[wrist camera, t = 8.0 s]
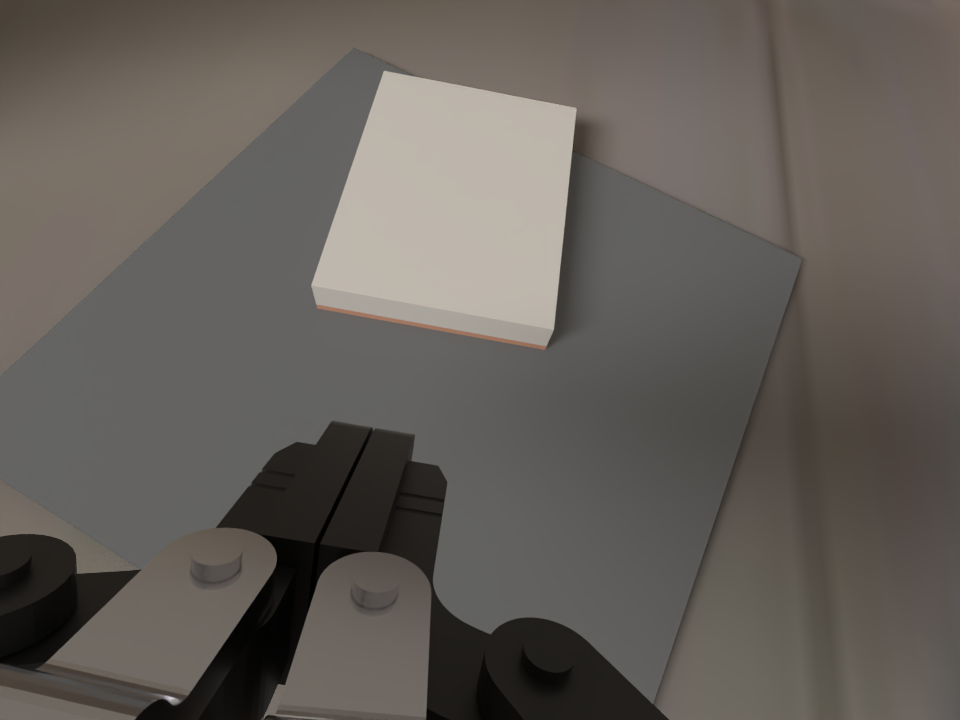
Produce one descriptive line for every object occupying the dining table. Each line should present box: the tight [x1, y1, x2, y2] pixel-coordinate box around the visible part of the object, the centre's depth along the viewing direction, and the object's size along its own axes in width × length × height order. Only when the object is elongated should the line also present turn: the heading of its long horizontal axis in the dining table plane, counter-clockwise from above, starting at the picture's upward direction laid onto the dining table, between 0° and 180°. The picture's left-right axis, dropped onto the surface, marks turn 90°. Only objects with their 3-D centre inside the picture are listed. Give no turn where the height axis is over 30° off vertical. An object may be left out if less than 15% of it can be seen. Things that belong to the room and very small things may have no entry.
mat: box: [0, 48, 802, 704], centre depth 23 cm, size 24×24×1 cm
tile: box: [311, 71, 577, 350], centre depth 25 cm, size 2×9×12 cm
